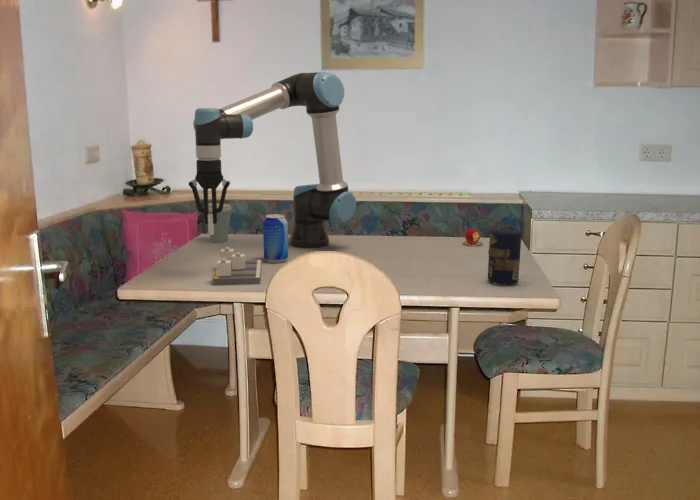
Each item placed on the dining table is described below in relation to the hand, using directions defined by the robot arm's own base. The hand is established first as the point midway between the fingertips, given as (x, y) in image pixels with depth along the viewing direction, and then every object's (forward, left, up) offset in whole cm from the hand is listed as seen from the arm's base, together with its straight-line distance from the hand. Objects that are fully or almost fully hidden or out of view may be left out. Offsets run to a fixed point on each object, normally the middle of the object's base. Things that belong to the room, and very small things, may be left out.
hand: (211, 233), depth 219 cm
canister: (-90, +17, -14) cm, 93 cm away
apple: (-96, -38, -14) cm, 104 cm away
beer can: (-20, -18, -14) cm, 31 cm away
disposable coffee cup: (+2, -53, -14) cm, 55 cm away
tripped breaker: (-8, 0, -11) cm, 14 cm away
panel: (-8, 0, -14) cm, 16 cm away
